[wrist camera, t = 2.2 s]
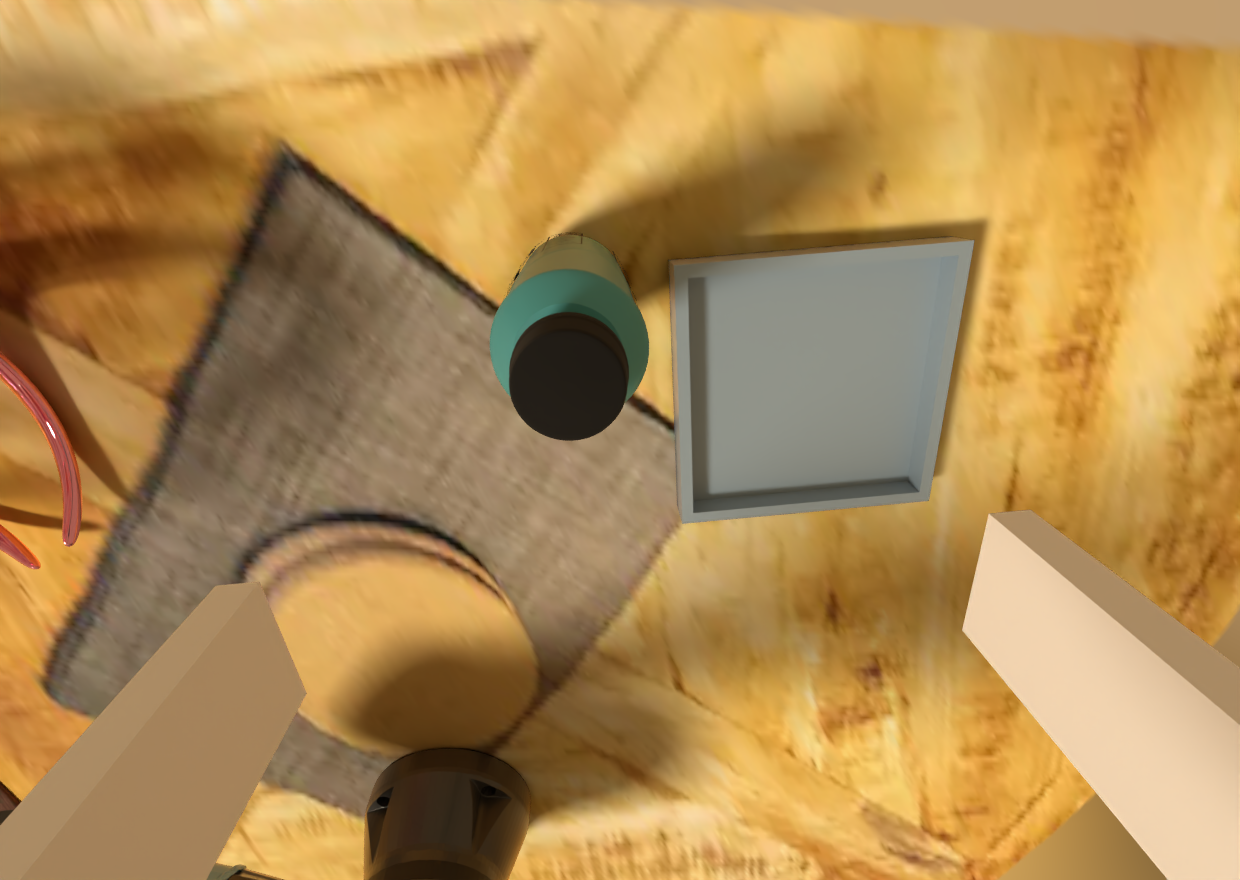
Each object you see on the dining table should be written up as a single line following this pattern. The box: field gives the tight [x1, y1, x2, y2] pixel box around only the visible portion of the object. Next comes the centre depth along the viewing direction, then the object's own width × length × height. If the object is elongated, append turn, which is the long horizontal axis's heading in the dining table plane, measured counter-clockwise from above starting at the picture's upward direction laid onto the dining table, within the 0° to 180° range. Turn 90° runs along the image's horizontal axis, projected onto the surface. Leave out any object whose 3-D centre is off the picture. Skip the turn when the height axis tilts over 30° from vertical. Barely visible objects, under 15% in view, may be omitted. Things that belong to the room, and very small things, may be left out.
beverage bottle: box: [490, 232, 649, 440], centre depth 27 cm, size 6×7×20 cm
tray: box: [668, 236, 974, 524], centre depth 39 cm, size 18×18×2 cm
